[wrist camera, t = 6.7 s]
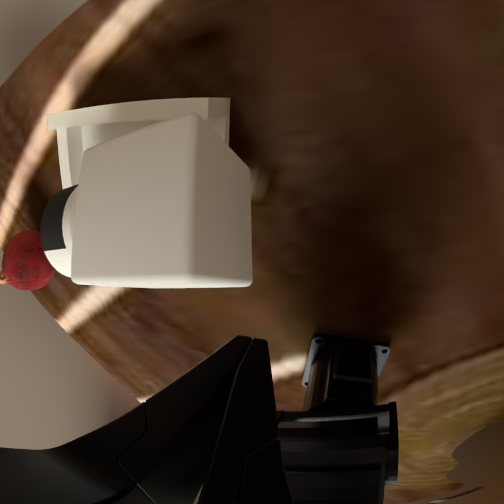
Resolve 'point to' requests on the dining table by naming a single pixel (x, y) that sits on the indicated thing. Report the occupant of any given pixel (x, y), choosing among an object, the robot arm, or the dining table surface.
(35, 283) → the red rounded lump
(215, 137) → the medicine bottle
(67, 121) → the cradle
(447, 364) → the dining table surface
